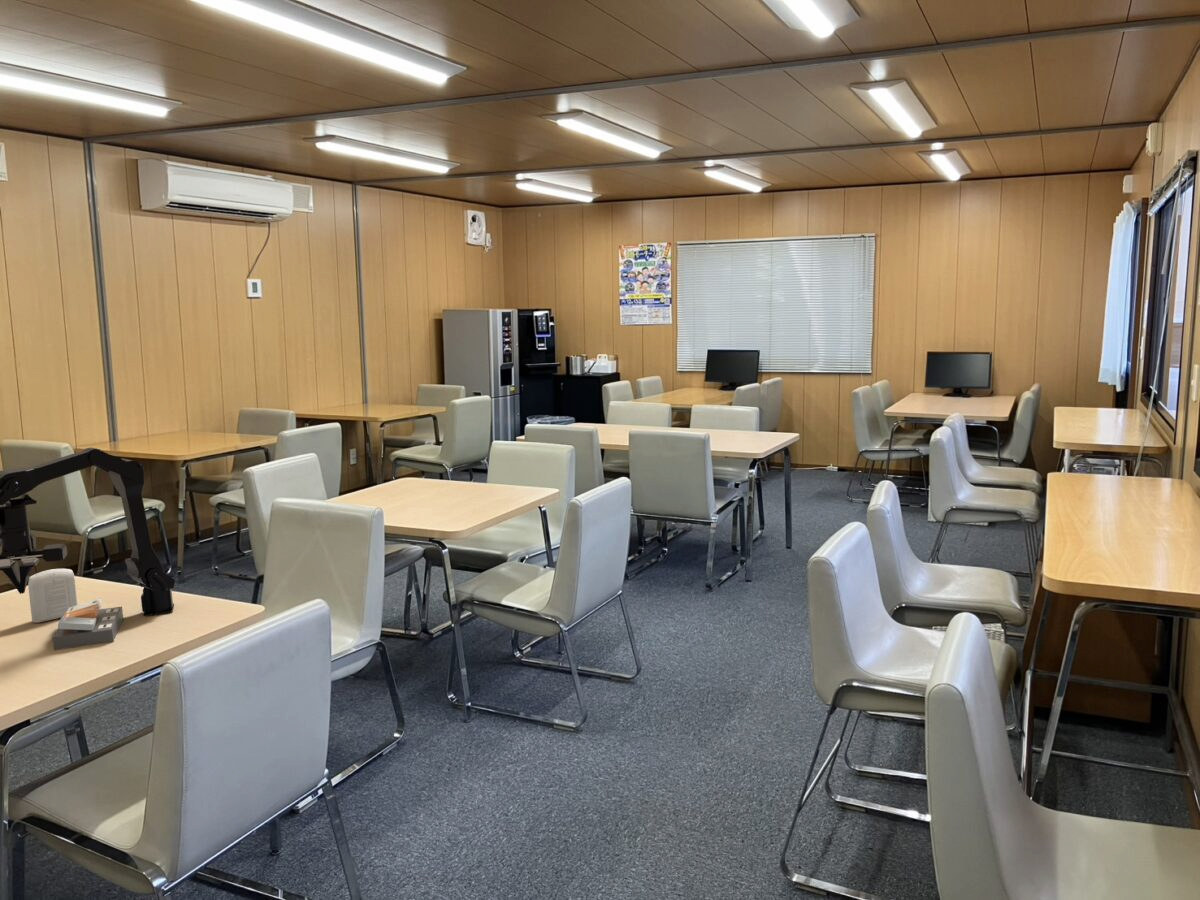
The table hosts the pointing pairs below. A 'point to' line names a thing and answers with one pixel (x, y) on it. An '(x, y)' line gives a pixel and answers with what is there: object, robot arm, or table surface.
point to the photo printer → (51, 594)
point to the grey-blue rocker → (77, 623)
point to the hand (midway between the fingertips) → (22, 593)
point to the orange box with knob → (84, 613)
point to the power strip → (91, 631)
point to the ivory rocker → (86, 605)
